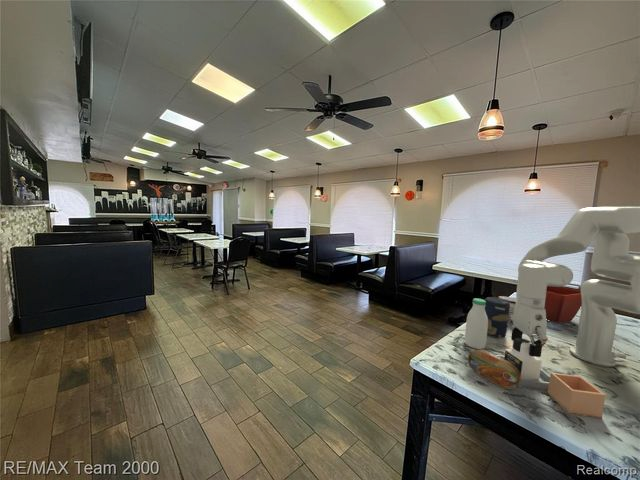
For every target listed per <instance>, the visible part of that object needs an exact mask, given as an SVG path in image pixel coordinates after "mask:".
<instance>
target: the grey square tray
mask: <svg viewBox="0 0 640 480" xmlns="http://www.w3.org/2000/svg"><path fill="white" fill-rule="evenodd" d="M494 355H495V356H498V357H500V358H502V359H504V358H505V355H501V354H500V355H499V354H498V355H497V354H494ZM549 381H550V374H548V373H547V372H546V371H544V369H542V368H541V370H540V377H539V380H527V379H520V383H519V384H518V385H517V386H516V388H517V387H519V388H524V389H526V388H527V389H532V390H533V389H534V390H538V391H539V390H540V391H546V392H548V388H549Z"/></svg>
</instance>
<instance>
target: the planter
mask: <svg viewBox="0 0 640 480" xmlns="http://www.w3.org/2000/svg"><path fill="white" fill-rule="evenodd" d="M549 376H550V381H549V388H548V391H547V395H549V396H550V397H551V398H552V399H553V400H554V401H555V402H556V403H557V404H558V405H559V406H560V407H561V408H562V409H563V410H564V411H566V413H567V414H570V415H577V416H583V417H590V418H597V419H603V415H604V408H605V401H606V394H605V393H603V391H601V390H599V388H597V387H596V386H594V385H593V384H592V383H590V382H589V381H587V380H586V378H584V377H582V376H581V375H572V374H565V373H558V372H557V373H556V372H550V374H549Z"/></svg>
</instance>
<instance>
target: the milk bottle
mask: <svg viewBox="0 0 640 480" xmlns="http://www.w3.org/2000/svg"><path fill="white" fill-rule="evenodd" d="M485 305H486V301H485V299H482V298H476V297H475V298H473V299H472V307H471V309H470V310H469V312H468V314H467V316H466V323H465V330H464V331H465V333H464V344H465V345H467V346H468V347H470V348H473V349H475V350H484V349H485V348H486V345H487V336H488V335H487V329H488V318H487V315H486V312H485Z"/></svg>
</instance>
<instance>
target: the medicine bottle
mask: <svg viewBox="0 0 640 480" xmlns="http://www.w3.org/2000/svg"><path fill="white" fill-rule="evenodd" d="M512 341H513V342H512V348H505V349H504V350H505V351H504V356H505V358H504V359H505V360H507V361H509V362H511V363H512V364H513V365H514V366H515V367H516V368H517V369H518V371H519V373H520V377H521V379H527V380H539V377H540V370H541V369H542V362H543V361H542V359H541V358H540V357H534V356H530V355H529V348H530V344H532V343H531V340H528V339H526V338H523V337H522V338H515V339H514V340H512Z"/></svg>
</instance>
